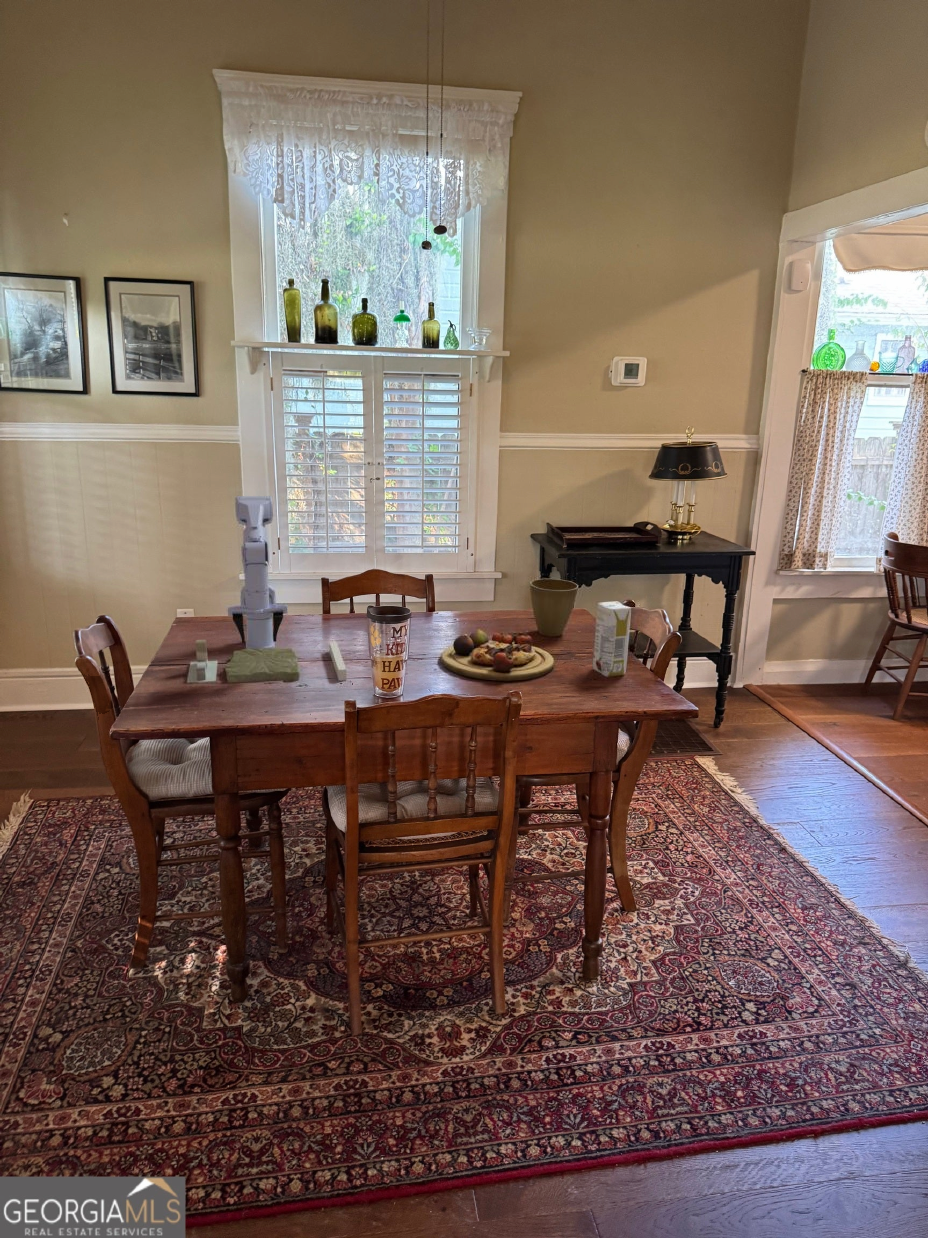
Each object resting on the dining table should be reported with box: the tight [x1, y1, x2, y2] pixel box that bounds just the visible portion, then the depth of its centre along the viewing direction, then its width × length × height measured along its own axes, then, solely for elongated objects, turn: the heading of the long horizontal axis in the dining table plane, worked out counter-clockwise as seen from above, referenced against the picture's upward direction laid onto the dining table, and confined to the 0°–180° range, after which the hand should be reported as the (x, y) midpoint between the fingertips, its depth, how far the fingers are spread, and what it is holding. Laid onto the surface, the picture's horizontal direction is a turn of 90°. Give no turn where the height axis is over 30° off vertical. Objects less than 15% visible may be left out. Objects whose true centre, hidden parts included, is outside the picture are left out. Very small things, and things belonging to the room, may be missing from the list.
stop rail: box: [328, 641, 347, 682], centre depth 221 cm, size 24×2×3 cm, turn 15°
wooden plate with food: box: [440, 629, 555, 682], centre depth 227 cm, size 32×32×8 cm
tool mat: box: [186, 660, 218, 684], centre depth 212 cm, size 16×7×1 cm, turn 15°
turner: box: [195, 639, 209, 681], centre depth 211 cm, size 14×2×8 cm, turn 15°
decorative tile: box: [224, 647, 300, 684], centre depth 216 cm, size 19×20×4 cm
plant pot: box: [529, 578, 579, 637], centre depth 254 cm, size 15×15×16 cm
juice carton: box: [592, 600, 632, 677], centre depth 220 cm, size 8×9×19 cm
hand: (259, 641), depth 207 cm, fingers open, 7 cm apart
